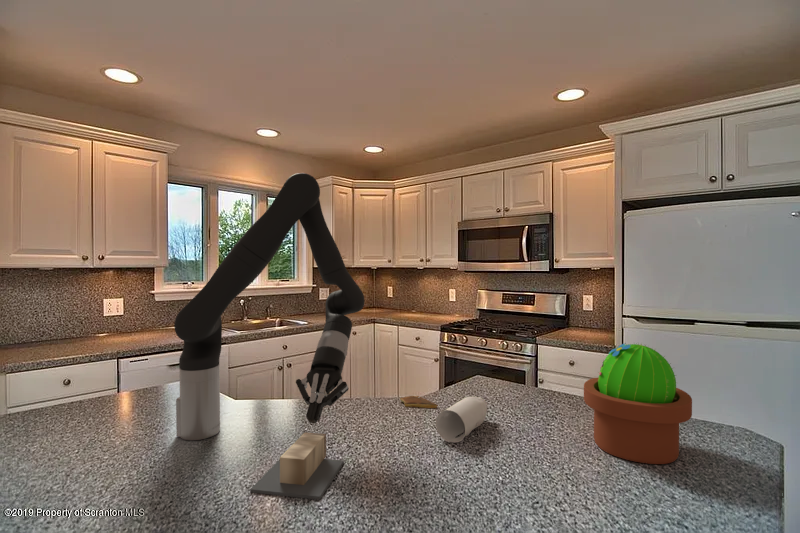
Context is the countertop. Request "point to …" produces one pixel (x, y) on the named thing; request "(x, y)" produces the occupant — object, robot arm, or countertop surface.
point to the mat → (309, 490)
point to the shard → (417, 402)
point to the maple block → (302, 458)
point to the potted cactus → (637, 406)
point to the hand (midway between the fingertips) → (312, 421)
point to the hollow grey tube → (461, 418)
